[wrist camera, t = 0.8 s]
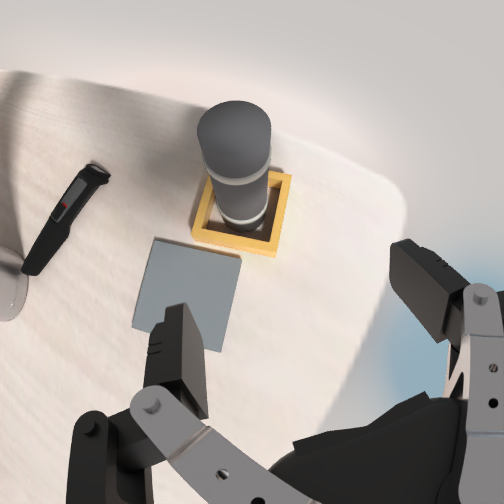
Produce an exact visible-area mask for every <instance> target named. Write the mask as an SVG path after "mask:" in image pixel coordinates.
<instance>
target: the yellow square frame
mask: <svg viewBox="0 0 504 504" xmlns="http://www.w3.org/2000/svg"><path fill="white" fill-rule="evenodd" d="M291 177H292V175H289V174H284V173H279V172H274V171H269V173H268V187H273V188H278V189H281V190H280V195H279V200H278V205H277V210H276V214H275V219H274V224H273V228H272V233H271V238H270V242H265V241H260V240H255V239H250V238H246V237H241V236H236V235H231V234H226V233H221V232H216V231H211V230H207V229H206V228H207V224H208V220H209V217H210V213H211V210H212V206H213V203H214V199H215V192H214V189H213V186H212V182H211V179H210V176H209V175H208V179H207V182H206V185H205V188H204V191H203V195H202V198H201V201H200V205H199V208H198V211H197V215H196V218H195V222H194V225H193V229H192V232H191V236H192V237H193V239H194V240H195V241H199V242H203V243H208V244H213V245H217V246H222V247H227V248H232V249H236V250H241V251H246V252H251V253H255V254H260V255H265V256H269V257H274V258H275V256H276V252H277V247H278V242H279V237H280V233H281V228H282V223H283V218H284V213H285V208H286V203H287V198H288V193H289V188H290V183H291Z"/></svg>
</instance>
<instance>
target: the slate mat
mask: <svg viewBox="0 0 504 504" xmlns="http://www.w3.org/2000/svg"><path fill="white" fill-rule="evenodd" d="M241 263H242V259H239V258H234V257H229V256H225V255H220V254H216V253H211V252H206V251H202V250H197V249H192V248H188V247H183V246H179V245H174V244H170V243H165V242H161V241H156V240H154V244H153V247H152V251H151V254H150V258H149V261H148V265H147V268H146V272H145V276H144V279H143V283H142V287H141V291H140V295H139V299H138V303H137V307H136V311H135V315H134V320H133V324H132V328H135V329H138V330H141V331H144V332H147V333H151V331H152V330H153V328H154V326H155V325H156V323H160V322H164V316H165V309H166V307H168V306H172V305H176V304H180V303H184V302H186V303H187V305H188V307H189V309H190V311H191V314H192V316H193V318H194V320H195V322H196V324H197V327H198V329H199V331H200V333H201V336H202V340H203V345H204V349H208V350H212V351H216V352H221V349H222V345H223V341H224V336H225V332H226V328H227V323H228V319H229V315H230V310H231V306H232V302H233V297H234V293H235V289H236V284H237V280H238V276H239V272H240V267H241Z"/></svg>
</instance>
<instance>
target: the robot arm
mask: <svg viewBox="0 0 504 504" xmlns="http://www.w3.org/2000/svg"><path fill="white" fill-rule="evenodd" d="M23 263H24V261H23V259H22V258H21V256H20V255H19V254H18V253H16V252H14V251H12V250H10V249H7V248H5V247H3V246H0V321H10V320H12V319H14V318H15V317H16V316H17V315H18V313H19V312H20V311H21V309H22V307H23V304H24V302H25V298H26V294H27V288H28V277H27V275H25V274H23V273H22V272H21V267H22V265H23ZM389 278H390V283H391V286H392V288H393V290H394V291H395V292H396V293H397V295H398V296H399V297H400V298H401V299H402V300H403V302H404V303H405V304H406V305H407V307H409V309H410V310H411V312H412V313H413V314H414V315H415V316H416V318H417V319H418V320H419V321H420V323H421V324H422V325H423V326H424V328H425V329H426V330H427V331H428V333H429V334H430V335H431V336H432V338H433V339H434V340H435V342H436V343H439V342H441V341H443V340H445V339H448V340H449V341H450V343H449V346H448V358H447V371H446V381H445V388H444V392H443V396H442V397H439V398H431V399H430V398H429V397H428V395H427V394H426V392H425V391H424V392H422V393H420V394H418V395H416V396H414V397H412V398H410V399H408V400H405V401H403V402H401V403H399V404H397V405H395V406H394V407H393V408H391V409H390V410H389V411H387V412H386V413H384V414H383V415H382V416H380V417H379V418H378V419H376V420H375V421H373V422H372V423H371V424H369V425H367V426H364V427H358V428H351V429H343V430H334V431H327V432H324V433H321V434H318V435H314V436H311V437H308V438H304V439H301V440H297V441H294V442H293V446H294V449H295V450H294V451H292V452H290V453H288V454H287V455H285V456H284V457H282V458H281V459H279V460H278V461H277V462H276V463H275V464H273V465H272V467H271V468H270V469H269V470H266V469H265V468H263V467H262V466H261V465H259V464H258V463H257V462H255V461H254V460H253V459H251V458H250V457H249V456H247V455H246V454H245V453H243V452H242V451H241V450H239V449H238V448H237V447H236V446H234V445H233V444H232V443H231V442H229V441H228V440H227V439H226V438H224V437H223V436H222V435H221V434H219V433H218V432H217V431H216V430H215V429H213V428H212V427H210V426H206V425H205V424H204V423H202V422H201V421H200V420H203V419H208V418H209V417H208V405H207V391H206V376H205V360H204V345H203V340H202V336H201V333H200V331H199V329H198V327H197V324H196V322H195V320H194V318H193V316H192V314H191V311H190V309H189V307H188V305H187V303H186V302H184V303H180V304H176V305H172V306H168V307H166V309H165V316H164V322H160V323H156V325H155V326H154V328H153V330H152V331H151V333H150V337H149V344H148V345H149V347H148V351H147V354H148V356H147V359H146V367H145V375H144V384H143V389H142V390H140V391H139V392H138V393H137V394H136V395H135V396H134V397H133V399H132V401H131V404H130V408H128V409H126V410H124V411H122V412H119V413H117V414H115V415H112V416H110V417H107V416H106V415H105V414H104V413H102V412H100V411H96V410H95V411H89V412H86V413H85V414H83V415H82V416H81V417H80V418H79V419H78V420H77V422H76V423H75V426H74V429H73V436H72V443H71V451H70V459H69V468H68V479H67V493H66V504H154V500H153V487H152V471H151V466H153V465H155V464H158V463H160V462H162V461H165V460H167V459H168V460H167V461H168V463H169V464H170V465H171V466H172V467H173V468H174V469H175V471H176V472H177V473H178V474H179V475H180V476H181V477H182V478H183V479H184V480H185V481H186V482H187V483H188V484H189V485H190V486H191V487H192V488H193V489H194V490H195V491H196V492H197V493H198V494H199V495H200V496H201V497H202V498H203V499H204V500H205V501H207V502H208V503H209V504H504V291H499V292H495V291H494V290H493V289H492V288H491V287H489V286H488V285H485V284H481V283H474V284H470V283H469V282H468V281H467V280H466V279H465V278H463V277H462V276H461V275H460V274H459V273H458V272H457V271H456V270H454V269H453V268H452V267H451V266H449V265H448V263H446V262H445V261H444V260H442V258H441V257H439V256H438V255H437V254H436V253H435V252H433V251H431V250H429V249H426V248H424V247H419V246H418V245H417V244H416V243H414V242H413V241H412V240H411V239H405V240H402V241H398V242H395V243H392V244H391V246H390V270H389Z"/></svg>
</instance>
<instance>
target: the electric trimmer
mask: <svg viewBox="0 0 504 504" xmlns="http://www.w3.org/2000/svg"><path fill="white" fill-rule="evenodd" d="M110 176H111V175H110V174H108V173H107V172H105V171H104V170H102V169H101V168H99V167H98V166H96V165H93V164H87V165H86V168H84V169H83V170H81V171H79V173H78V174H77V176H76V177H75V178H74V180H73V181H72V183H71V184H70V186H69V187H68V189H67V190H66V191H65V193H64V194H63V196H62V198H61V199H60V201H59V202H58V204H57V205H56V207H55V208H54V210H53V212H52V213H51V215H50V217H49V219H48V221H47V223H46V224H45V226H44V228H43V229H42V231H41V233H40V234H39V236H38V238H37V239H36V241H35V243H34V245H33V247H32V248H31V250H30V252H29V254H28V256H27V257H26V259H25V261H24V263H23V265H22V267H21V272H22V273H23V274H25V275H30V276H37V275H39V274H40V272H41V271H42V270H43V268H44V267H45V266H46V265H47V263H48V262H49V261H50V259H51V258H52V257H53V256H54V254H55V253H56V252H57V250H58V249H59V248H60V247H61V245H62V244H63V243H64V242H65V240H66V239H67V238H68V236H69V227H70V225H71V224H72V222H73V221H74V219H75V218H76V217H77V215H78V214H79V212H80V211H81V210H82V208H83V207H84V206H85V204H86V203H87V202H88V200H89V199H90V198H91V196H92V195H93V194H94V192H95V191H96V190H97V188H98V187H99V186H100V185H103V184H107V183H108V182H109V180H108V178H109V177H110Z"/></svg>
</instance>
